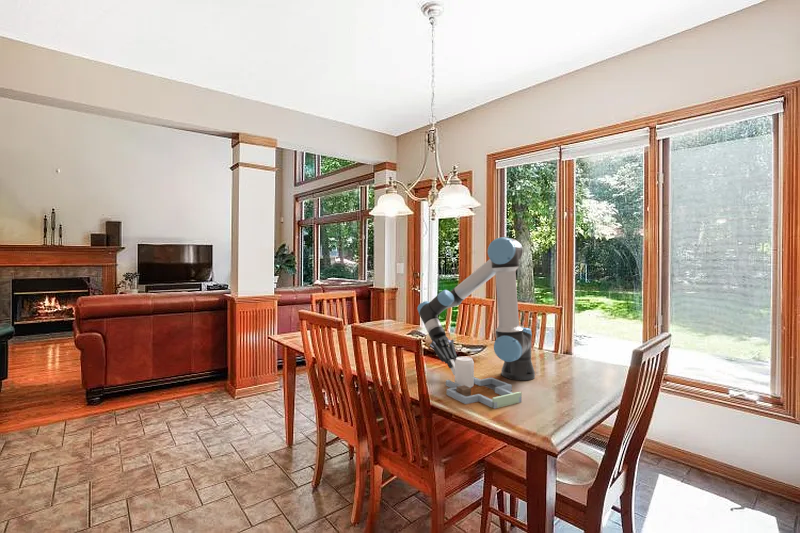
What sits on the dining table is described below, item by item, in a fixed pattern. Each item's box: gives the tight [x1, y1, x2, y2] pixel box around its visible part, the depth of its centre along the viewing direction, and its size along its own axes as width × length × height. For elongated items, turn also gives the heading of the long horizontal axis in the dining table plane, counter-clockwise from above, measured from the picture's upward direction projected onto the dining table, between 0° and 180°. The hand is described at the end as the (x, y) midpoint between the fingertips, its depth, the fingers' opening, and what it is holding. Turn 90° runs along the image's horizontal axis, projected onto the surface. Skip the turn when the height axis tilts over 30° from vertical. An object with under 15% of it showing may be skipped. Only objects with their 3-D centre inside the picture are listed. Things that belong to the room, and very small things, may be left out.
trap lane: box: [445, 376, 522, 409], centre depth 161 cm, size 30×27×2 cm
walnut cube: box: [457, 385, 472, 396], centre depth 156 cm, size 4×4×4 cm
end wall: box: [491, 391, 523, 409], centre depth 148 cm, size 1×14×4 cm, turn 120°
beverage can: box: [454, 356, 475, 388], centre depth 170 cm, size 8×8×12 cm
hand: (456, 373), depth 175 cm, fingers closed
